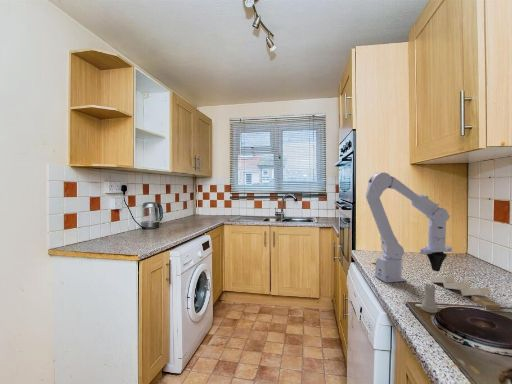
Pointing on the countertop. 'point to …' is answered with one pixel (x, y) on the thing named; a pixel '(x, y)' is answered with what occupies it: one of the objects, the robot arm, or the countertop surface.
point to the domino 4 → (485, 302)
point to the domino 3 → (475, 291)
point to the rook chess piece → (429, 299)
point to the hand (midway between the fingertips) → (435, 270)
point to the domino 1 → (443, 279)
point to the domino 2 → (456, 285)
